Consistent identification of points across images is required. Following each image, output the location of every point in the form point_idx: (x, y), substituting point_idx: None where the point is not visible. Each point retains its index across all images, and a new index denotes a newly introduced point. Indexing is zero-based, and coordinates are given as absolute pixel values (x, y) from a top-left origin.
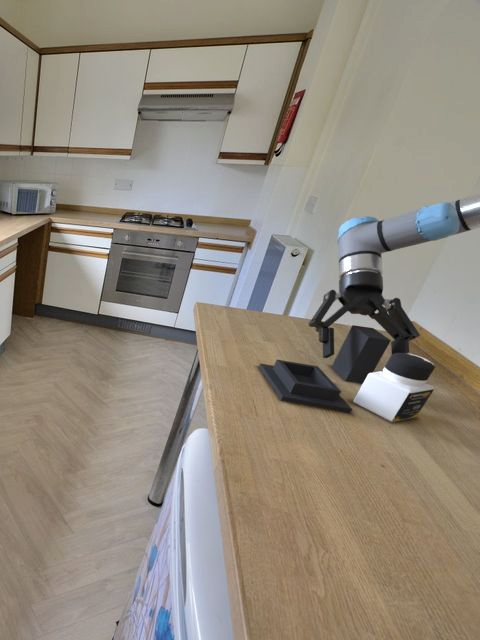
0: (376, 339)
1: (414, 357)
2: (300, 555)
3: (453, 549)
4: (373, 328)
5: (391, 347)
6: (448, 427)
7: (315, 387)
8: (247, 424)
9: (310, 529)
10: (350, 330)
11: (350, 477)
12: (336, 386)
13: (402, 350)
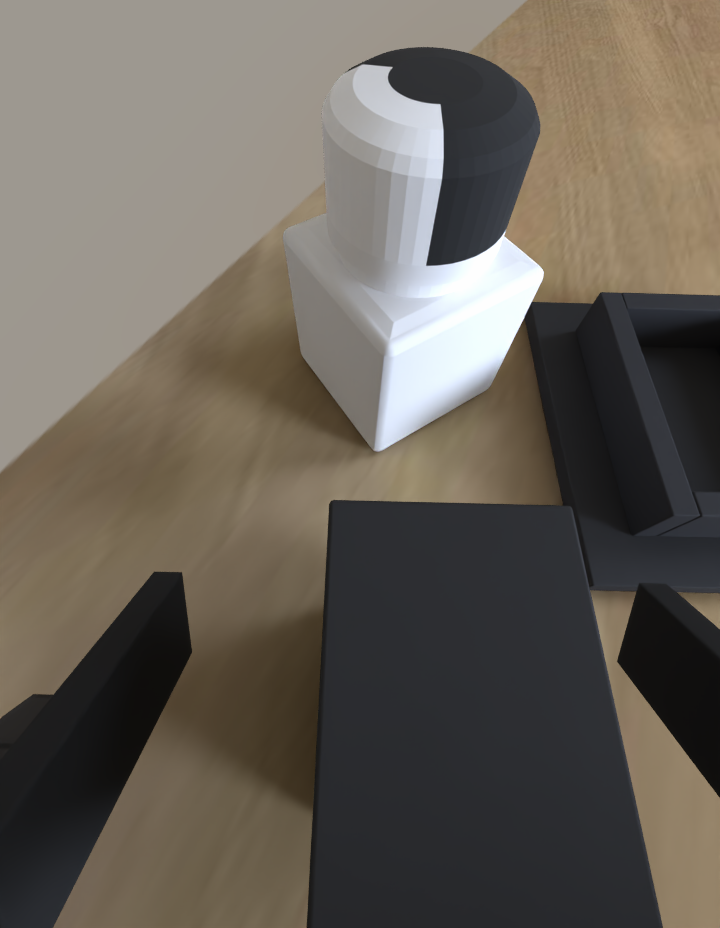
0: (477, 507)
1: (434, 83)
2: (684, 17)
3: (494, 48)
4: None
5: (83, 864)
6: (222, 333)
7: (690, 296)
8: None
9: (671, 39)
10: None
11: (595, 115)
12: (612, 320)
13: (99, 672)
